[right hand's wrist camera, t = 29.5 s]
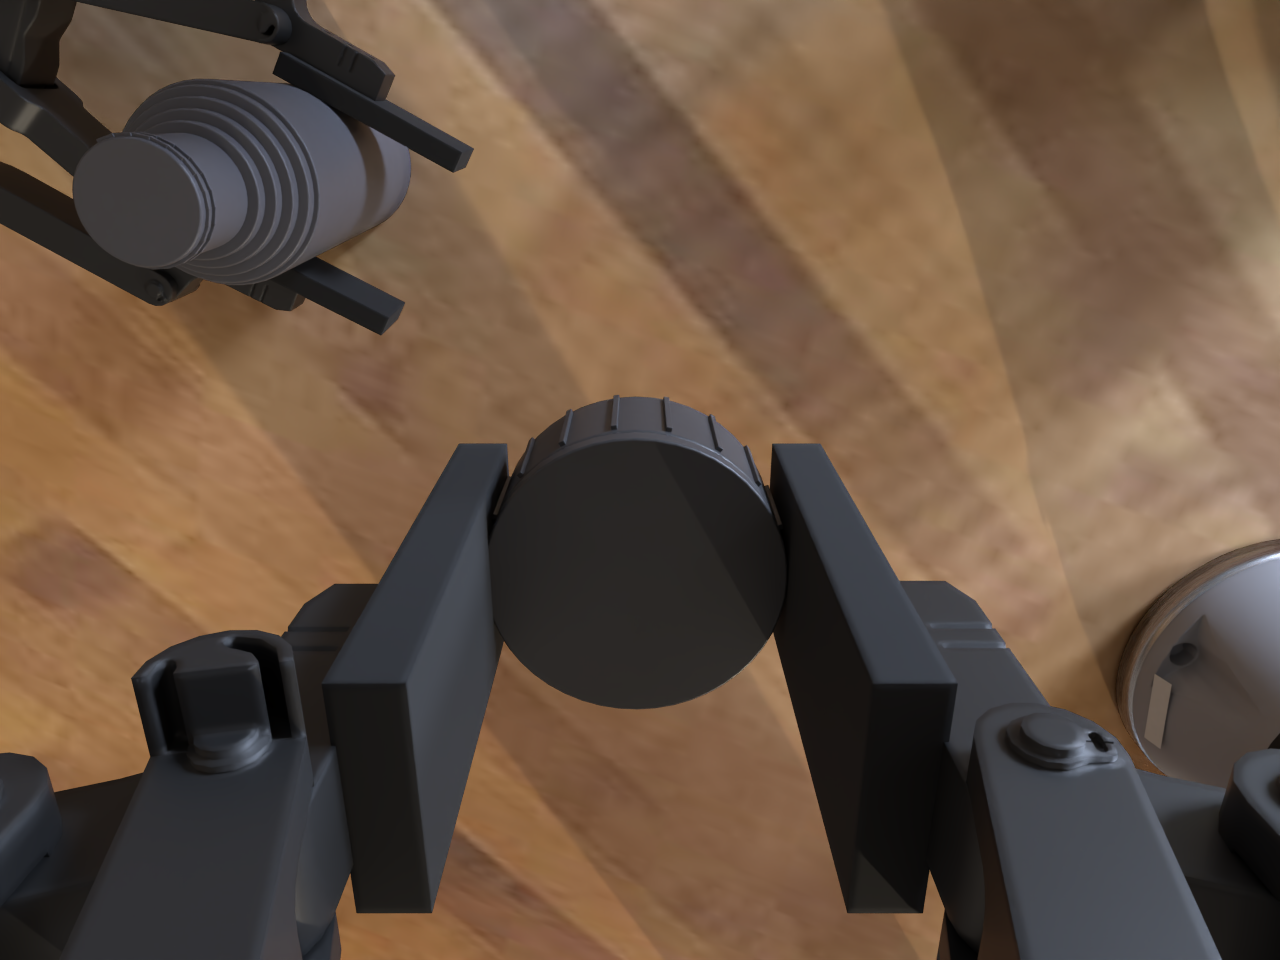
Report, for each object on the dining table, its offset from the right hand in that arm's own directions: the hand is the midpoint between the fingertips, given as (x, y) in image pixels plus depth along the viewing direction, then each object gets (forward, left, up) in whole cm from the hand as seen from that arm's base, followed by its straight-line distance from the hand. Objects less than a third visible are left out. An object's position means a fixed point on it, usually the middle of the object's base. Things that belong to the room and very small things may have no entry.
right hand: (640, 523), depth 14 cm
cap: (0, 0, +2) cm, 2 cm away
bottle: (+9, -8, -27) cm, 30 cm away
